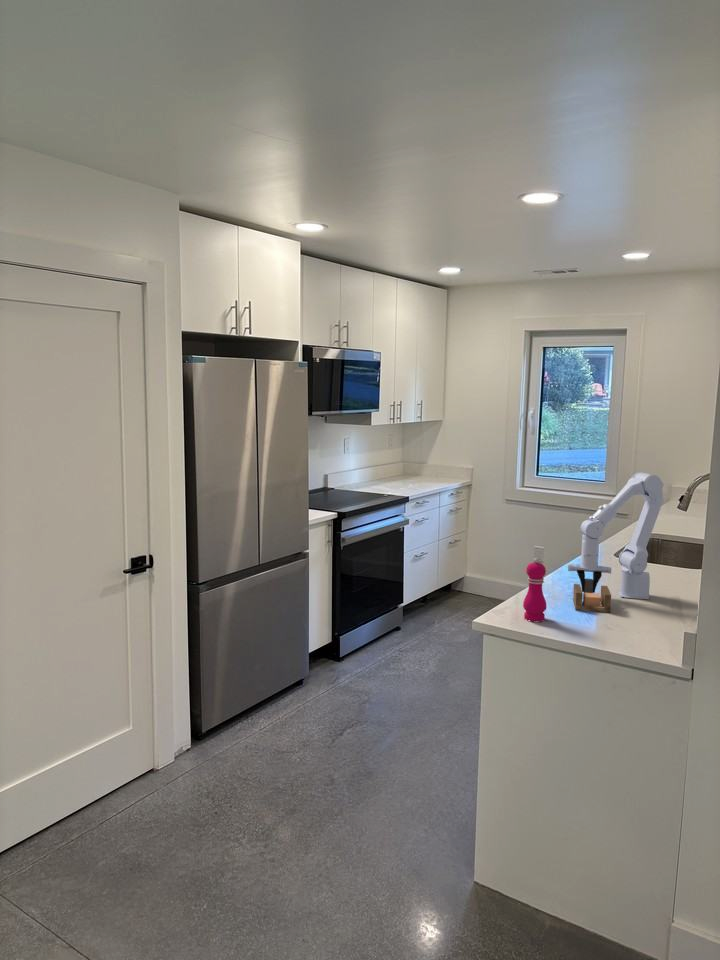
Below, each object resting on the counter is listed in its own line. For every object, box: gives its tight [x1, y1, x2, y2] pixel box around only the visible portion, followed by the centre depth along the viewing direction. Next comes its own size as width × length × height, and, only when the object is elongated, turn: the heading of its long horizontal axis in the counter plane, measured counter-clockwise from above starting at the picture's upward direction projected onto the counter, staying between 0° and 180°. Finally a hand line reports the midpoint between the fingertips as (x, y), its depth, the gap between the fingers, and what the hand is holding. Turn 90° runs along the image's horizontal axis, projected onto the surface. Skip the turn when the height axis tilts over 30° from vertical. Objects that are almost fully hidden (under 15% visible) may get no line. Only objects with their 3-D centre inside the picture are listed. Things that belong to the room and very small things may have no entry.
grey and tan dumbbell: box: [582, 578, 601, 607], centre depth 234 cm, size 5×16×6 cm, turn 167°
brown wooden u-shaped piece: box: [572, 583, 612, 614], centre depth 230 cm, size 11×11×6 cm
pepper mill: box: [522, 557, 547, 622], centre depth 216 cm, size 7×7×20 cm
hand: (588, 591), depth 241 cm, fingers closed on grey and tan dumbbell, 3 cm apart
